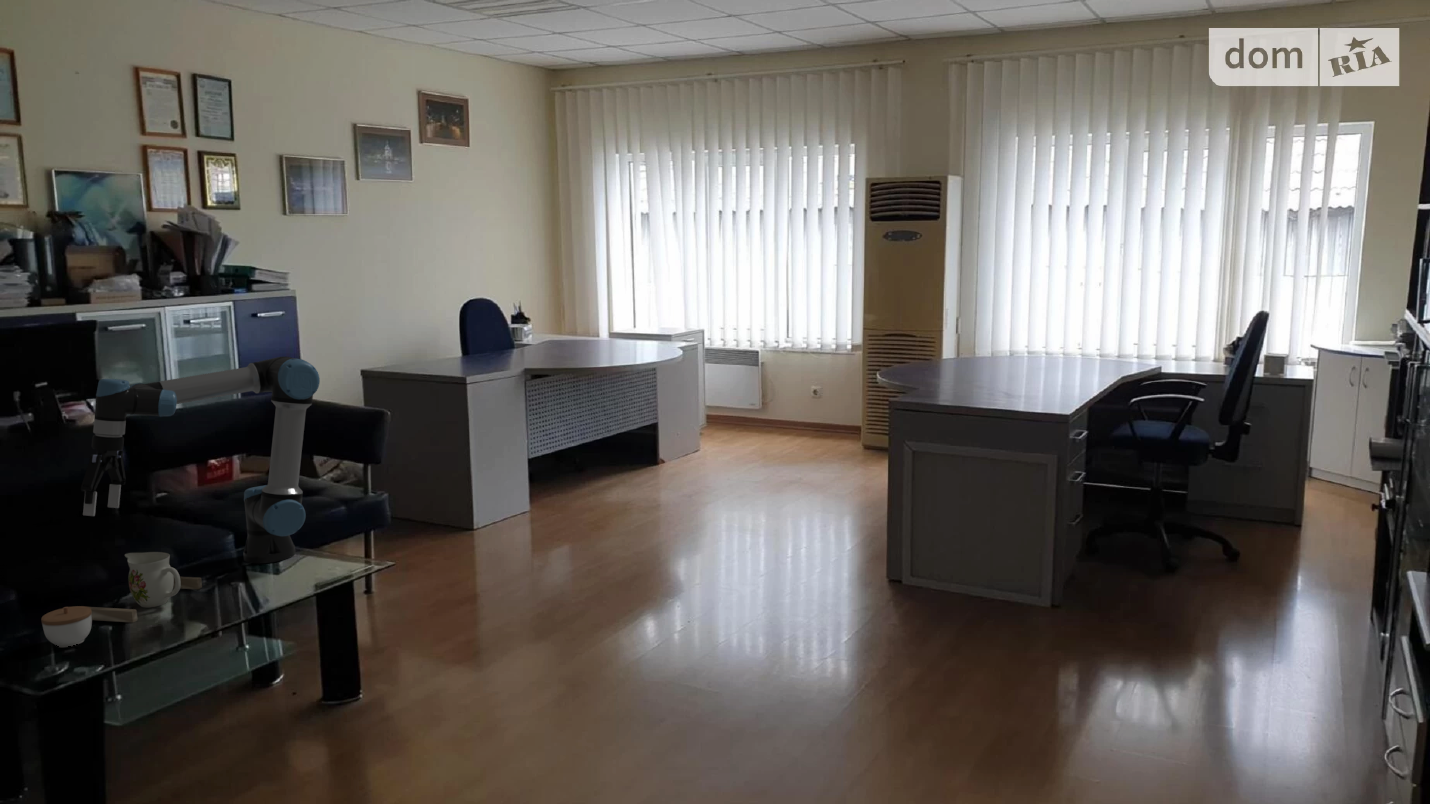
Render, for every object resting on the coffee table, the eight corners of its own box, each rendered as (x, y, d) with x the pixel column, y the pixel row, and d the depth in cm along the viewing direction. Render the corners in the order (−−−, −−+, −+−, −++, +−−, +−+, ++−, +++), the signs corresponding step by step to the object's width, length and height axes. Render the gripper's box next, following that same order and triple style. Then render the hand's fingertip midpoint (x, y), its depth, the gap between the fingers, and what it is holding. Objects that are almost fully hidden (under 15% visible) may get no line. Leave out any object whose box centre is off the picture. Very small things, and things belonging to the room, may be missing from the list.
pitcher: (165, 613, 275) (160, 565, 273) (114, 607, 281) (109, 559, 278) (197, 599, 285) (192, 552, 283) (147, 593, 291) (142, 547, 289)
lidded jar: (40, 654, 249) (36, 618, 248) (49, 638, 259) (44, 603, 258) (91, 646, 254) (86, 611, 252) (97, 631, 263) (93, 597, 262)
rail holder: (157, 585, 298) (155, 575, 298) (202, 587, 296) (201, 577, 295) (84, 619, 272) (82, 608, 271) (133, 622, 269) (131, 611, 269)
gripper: (116, 429, 290) (108, 502, 291) (70, 437, 265) (62, 517, 266) (143, 432, 291) (136, 505, 292) (100, 440, 266) (93, 520, 267)
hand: (101, 511), depth 279 cm, fingers open, 13 cm apart
